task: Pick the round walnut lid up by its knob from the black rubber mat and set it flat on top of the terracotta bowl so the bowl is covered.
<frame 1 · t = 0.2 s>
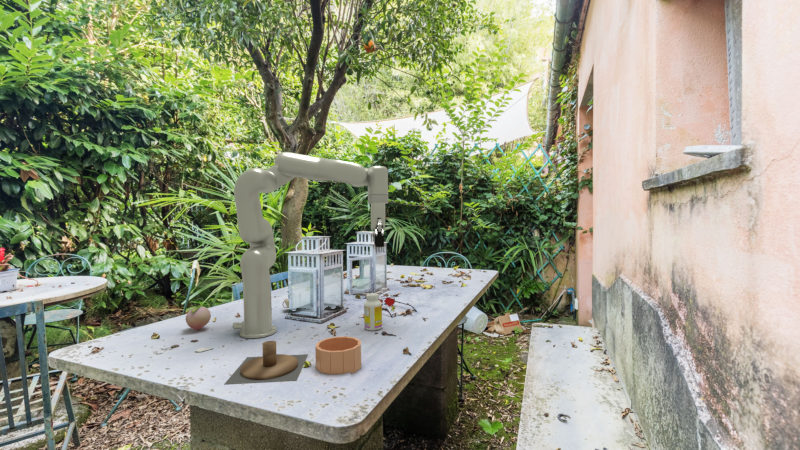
hand: (379, 245, 138), 31 cm above the table, tool pointing down, fingers open, 9 cm apart
decorative fruit: (199, 330, 141), on the table
bowl: (339, 366, 105), on the table
mat: (270, 370, 103), on the table
supplement bottle: (373, 328, 139), on the table
chinaware: (314, 308, 172), on the table
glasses: (393, 312, 164), on the table
lid: (270, 367, 103), point 1 cm above the table, touching mat
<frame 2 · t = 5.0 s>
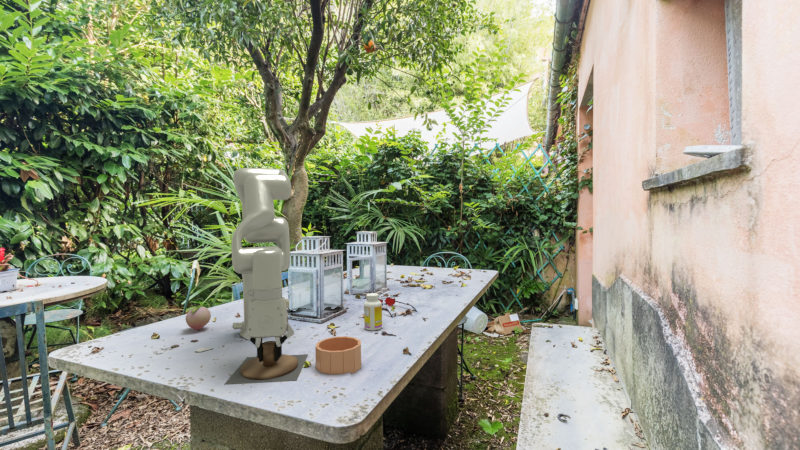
hand: (269, 359, 103), 3 cm above the table, tool pointing down, fingers closed on lid, 3 cm apart
lid: (269, 367, 103), point 1 cm above the table, touching gripper, mat
everything else where it was.
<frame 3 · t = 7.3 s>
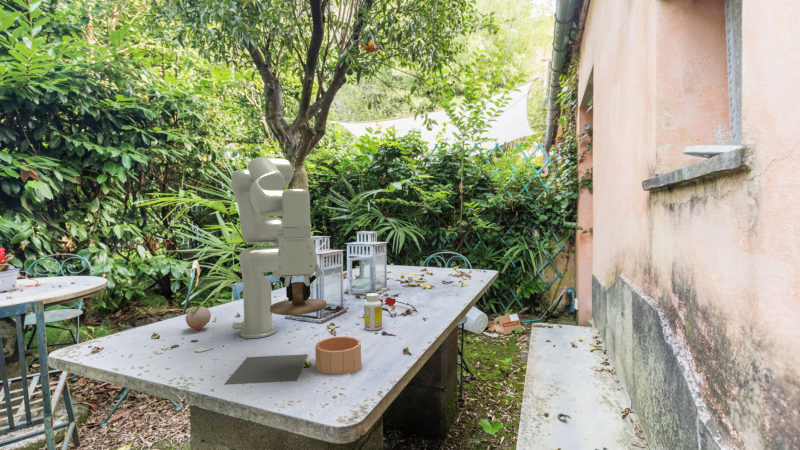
hand: (298, 299, 103), 20 cm above the table, tool pointing down, fingers closed on lid, 3 cm apart
lid: (298, 307, 103), point 17 cm above the table, touching gripper
everything else where it was.
when the fingers open (10 cm above the table, at t = 9.9 s): lid drops 1 cm, resting on bowl.
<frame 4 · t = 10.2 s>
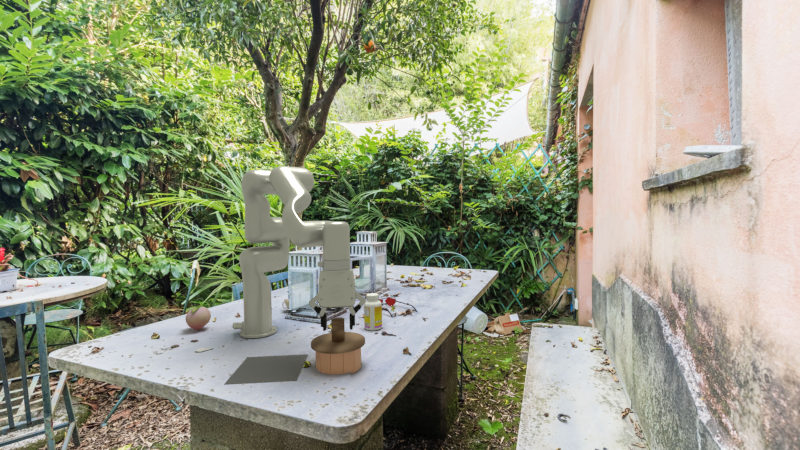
hand: (338, 328, 104), 11 cm above the table, tool pointing down, fingers open, 6 cm apart
lid: (338, 343, 104), point 6 cm above the table, touching bowl
everything else where it was.
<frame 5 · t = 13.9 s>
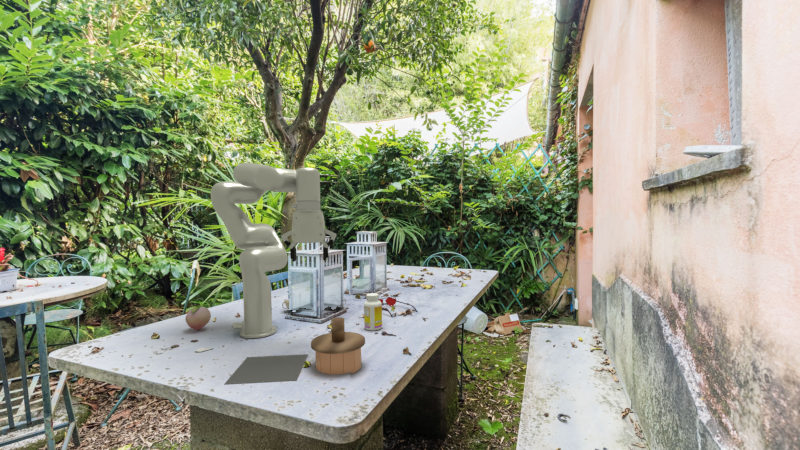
hand: (309, 260, 119), 28 cm above the table, tool pointing down, fingers open, 9 cm apart
nothing on the table moved.
at the end: lid 0.1 cm from the bowl (horizontally); lid point 6.5 cm above the table; lid tilted 0° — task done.
